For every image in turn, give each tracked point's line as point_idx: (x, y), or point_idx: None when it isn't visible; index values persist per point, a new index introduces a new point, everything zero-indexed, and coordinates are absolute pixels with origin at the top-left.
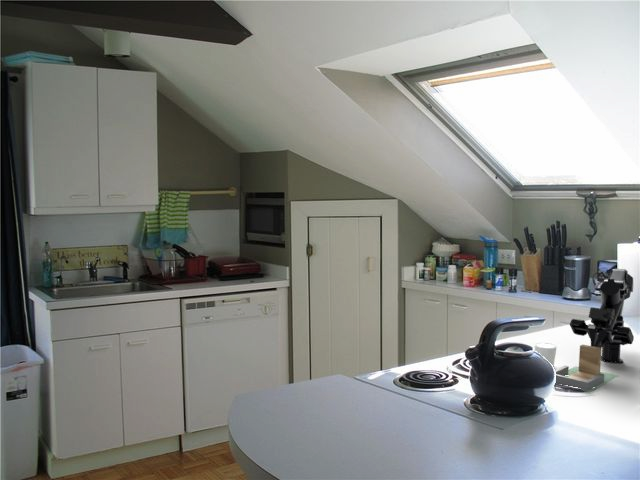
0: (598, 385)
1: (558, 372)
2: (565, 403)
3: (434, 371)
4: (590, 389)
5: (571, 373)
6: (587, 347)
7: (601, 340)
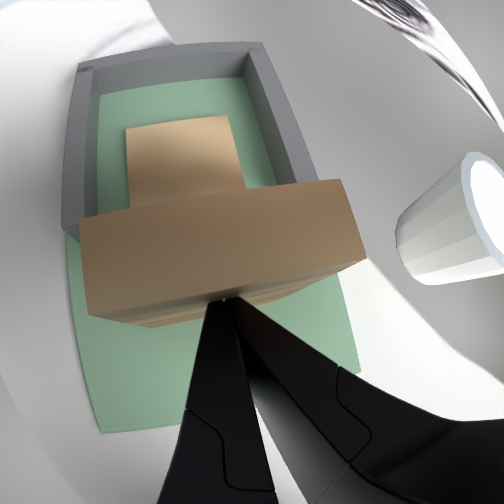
0: None
1: (260, 90)
2: (106, 8)
3: (422, 29)
4: None
5: None
6: (241, 190)
7: (169, 469)
